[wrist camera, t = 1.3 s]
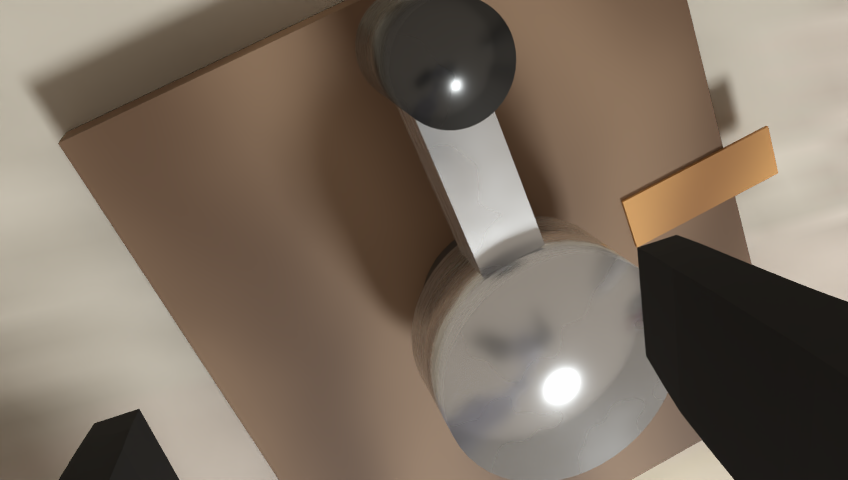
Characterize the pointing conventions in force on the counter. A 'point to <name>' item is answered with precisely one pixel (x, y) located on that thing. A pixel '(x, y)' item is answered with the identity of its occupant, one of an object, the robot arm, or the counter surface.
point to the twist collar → (506, 264)
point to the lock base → (397, 215)
